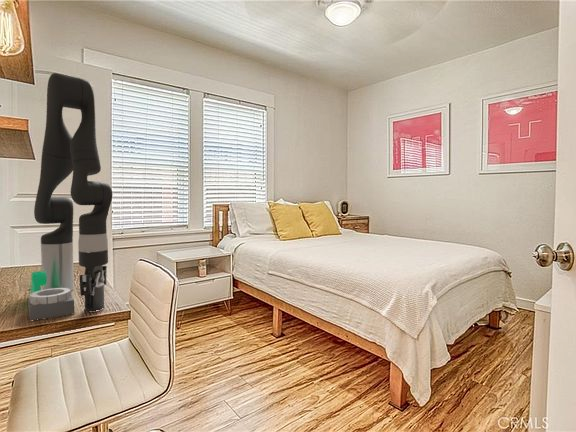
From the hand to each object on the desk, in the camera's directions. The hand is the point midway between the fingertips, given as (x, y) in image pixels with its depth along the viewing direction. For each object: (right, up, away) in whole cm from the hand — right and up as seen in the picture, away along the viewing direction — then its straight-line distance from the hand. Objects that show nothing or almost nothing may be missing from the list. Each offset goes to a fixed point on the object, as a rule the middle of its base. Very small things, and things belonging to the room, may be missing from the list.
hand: (94, 304), depth 99 cm
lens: (0, -2, 0) cm, 2 cm away
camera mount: (-18, -1, +6) cm, 20 cm away
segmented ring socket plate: (-11, -2, -3) cm, 11 cm away
